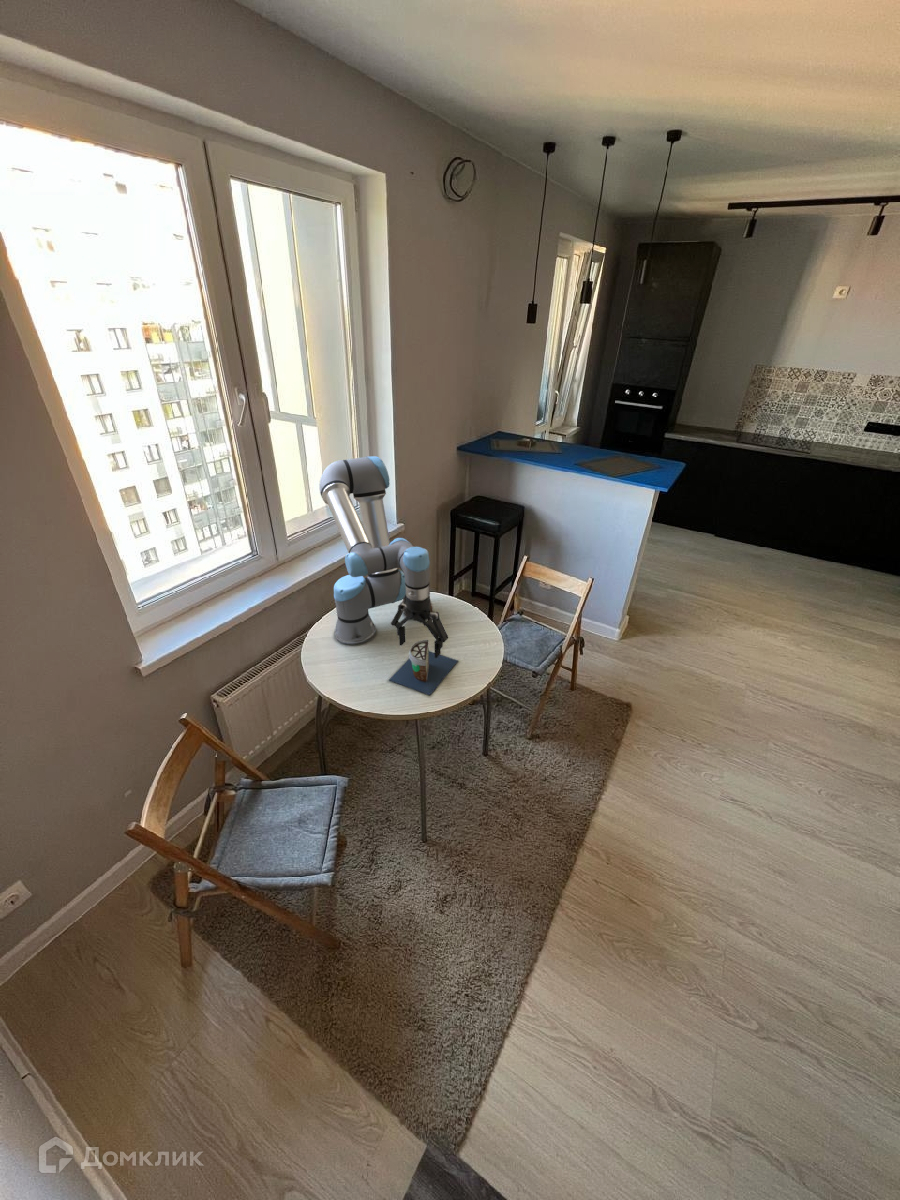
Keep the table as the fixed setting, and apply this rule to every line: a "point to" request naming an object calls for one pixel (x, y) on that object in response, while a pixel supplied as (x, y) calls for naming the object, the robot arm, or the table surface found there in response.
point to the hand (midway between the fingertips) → (419, 649)
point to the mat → (435, 676)
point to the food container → (420, 659)
